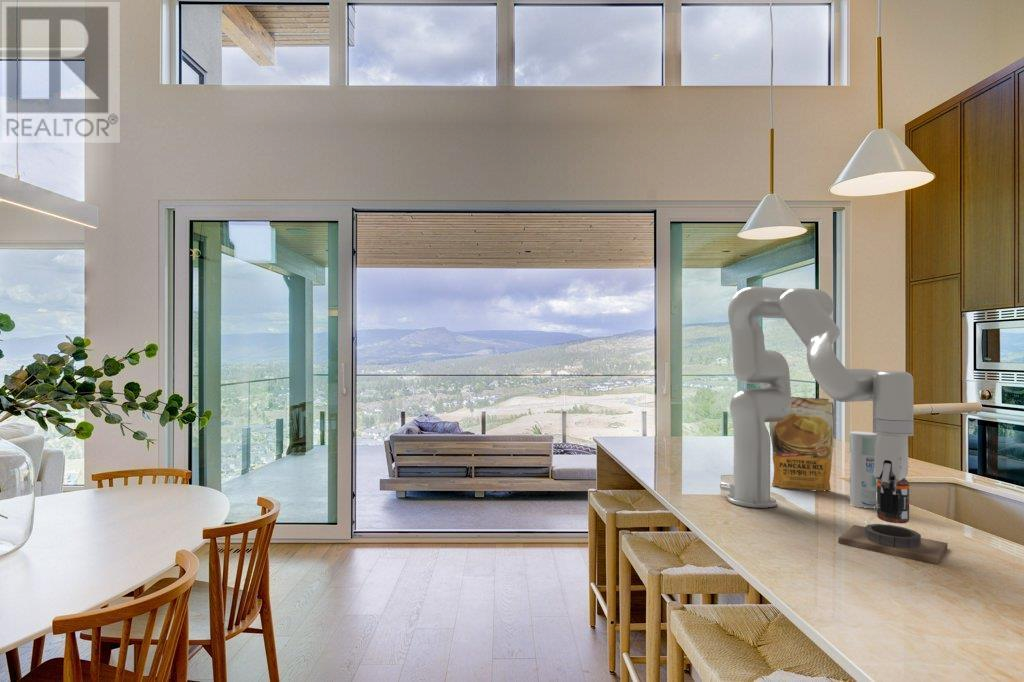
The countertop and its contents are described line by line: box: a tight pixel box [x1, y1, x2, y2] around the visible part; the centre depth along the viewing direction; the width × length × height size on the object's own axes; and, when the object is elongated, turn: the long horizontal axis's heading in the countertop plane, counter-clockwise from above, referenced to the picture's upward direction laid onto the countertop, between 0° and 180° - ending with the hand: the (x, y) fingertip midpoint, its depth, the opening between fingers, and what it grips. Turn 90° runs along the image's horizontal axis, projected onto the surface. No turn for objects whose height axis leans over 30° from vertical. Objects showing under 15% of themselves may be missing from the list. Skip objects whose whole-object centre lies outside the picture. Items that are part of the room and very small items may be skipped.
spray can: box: [849, 430, 877, 509], centre depth 161 cm, size 6×6×20 cm
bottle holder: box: [837, 523, 948, 565], centre depth 128 cm, size 18×13×3 cm
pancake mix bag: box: [768, 396, 835, 492], centre depth 180 cm, size 7×19×28 cm, turn 71°
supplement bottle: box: [876, 477, 910, 524], centre depth 128 cm, size 6×6×11 cm
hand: (892, 508), depth 128 cm, fingers closed on supplement bottle, 6 cm apart
